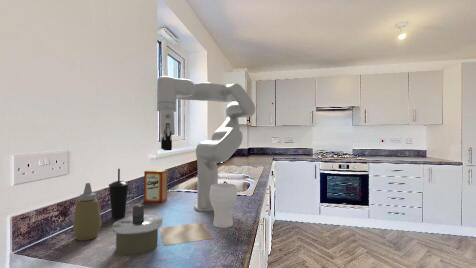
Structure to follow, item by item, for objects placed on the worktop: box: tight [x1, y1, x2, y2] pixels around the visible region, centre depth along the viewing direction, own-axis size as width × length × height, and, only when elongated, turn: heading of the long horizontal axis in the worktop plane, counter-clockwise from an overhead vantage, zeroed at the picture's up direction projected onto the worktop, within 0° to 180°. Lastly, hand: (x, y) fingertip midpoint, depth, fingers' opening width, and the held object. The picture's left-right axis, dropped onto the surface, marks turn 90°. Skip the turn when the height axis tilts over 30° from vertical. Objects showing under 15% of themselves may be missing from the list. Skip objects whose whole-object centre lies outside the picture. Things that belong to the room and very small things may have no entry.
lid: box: [112, 203, 163, 235], centre depth 77 cm, size 14×14×6 cm
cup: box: [210, 182, 238, 229], centre depth 97 cm, size 11×11×15 cm
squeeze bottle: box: [72, 182, 102, 242], centre depth 84 cm, size 8×8×18 cm
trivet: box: [159, 222, 215, 247], centre depth 88 cm, size 16×16×1 cm
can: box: [115, 228, 159, 257], centre depth 76 cm, size 12×12×7 cm
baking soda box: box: [143, 168, 168, 204], centre depth 132 cm, size 10×6×16 cm
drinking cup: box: [108, 168, 130, 219], centre depth 105 cm, size 8×8×20 cm
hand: (166, 149), depth 103 cm, fingers open, 9 cm apart
